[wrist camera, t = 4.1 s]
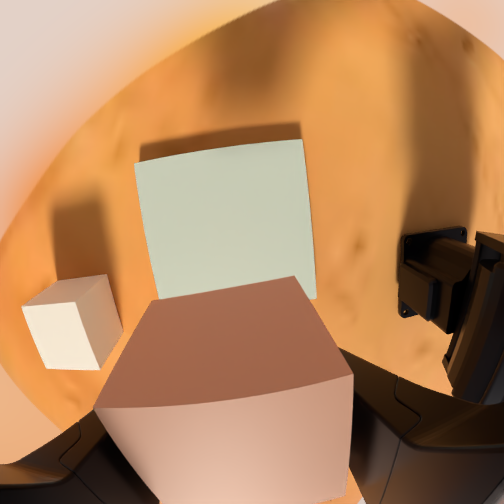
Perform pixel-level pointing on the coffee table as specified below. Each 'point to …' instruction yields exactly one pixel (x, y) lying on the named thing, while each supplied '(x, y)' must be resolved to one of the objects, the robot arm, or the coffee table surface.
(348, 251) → the coffee table surface
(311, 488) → the terracotta brick
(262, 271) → the plate
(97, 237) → the coffee table surface
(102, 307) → the cream brick
